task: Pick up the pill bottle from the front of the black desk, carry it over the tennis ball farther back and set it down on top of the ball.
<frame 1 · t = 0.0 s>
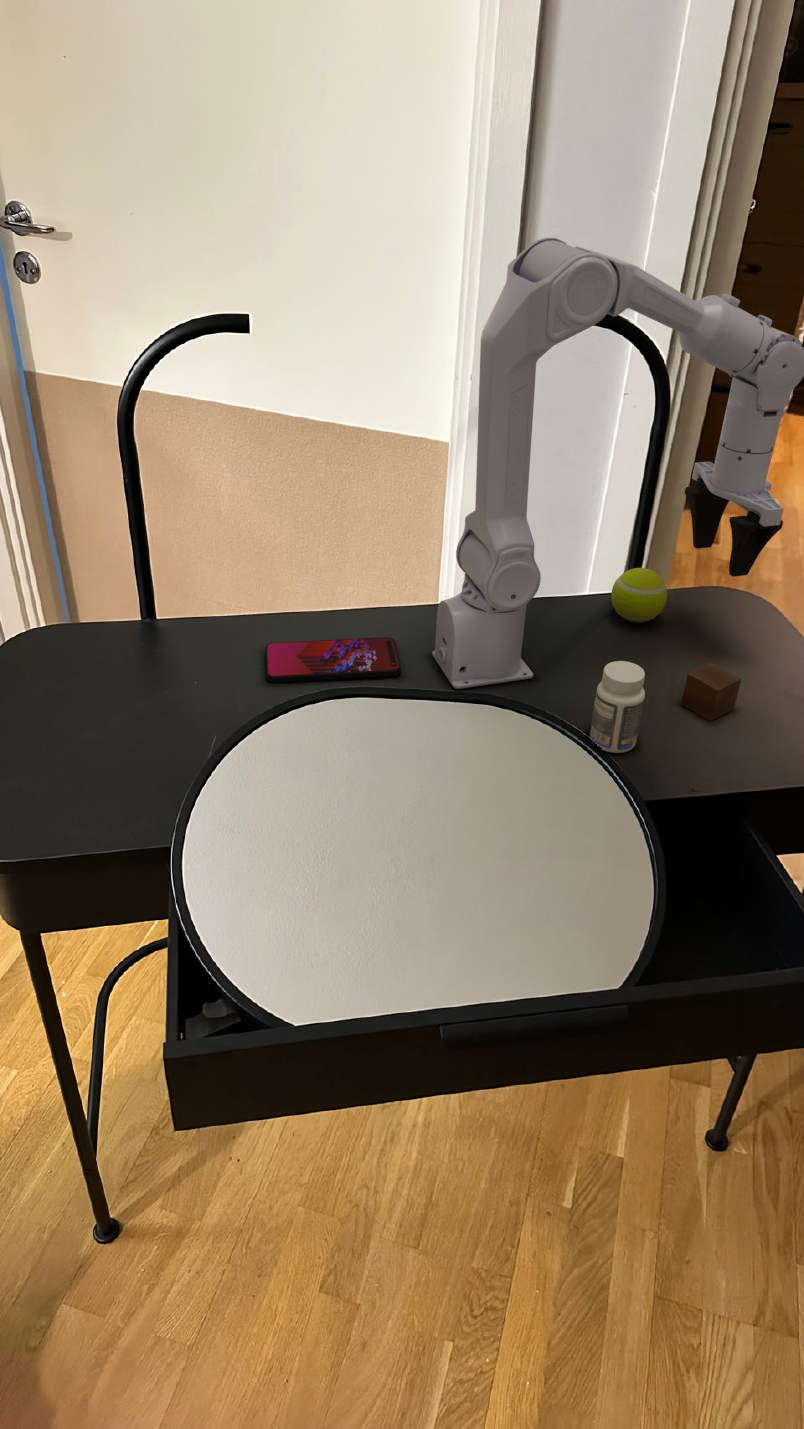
hand: (719, 560, 114), 10 cm above the table, tool pointing down, fingers open, 7 cm apart
pill bottle: (611, 742, 101), on the table
walnut block: (707, 707, 106), on the table
tennis ball: (634, 620, 123), on the table
smartphone: (332, 663, 112), on the table
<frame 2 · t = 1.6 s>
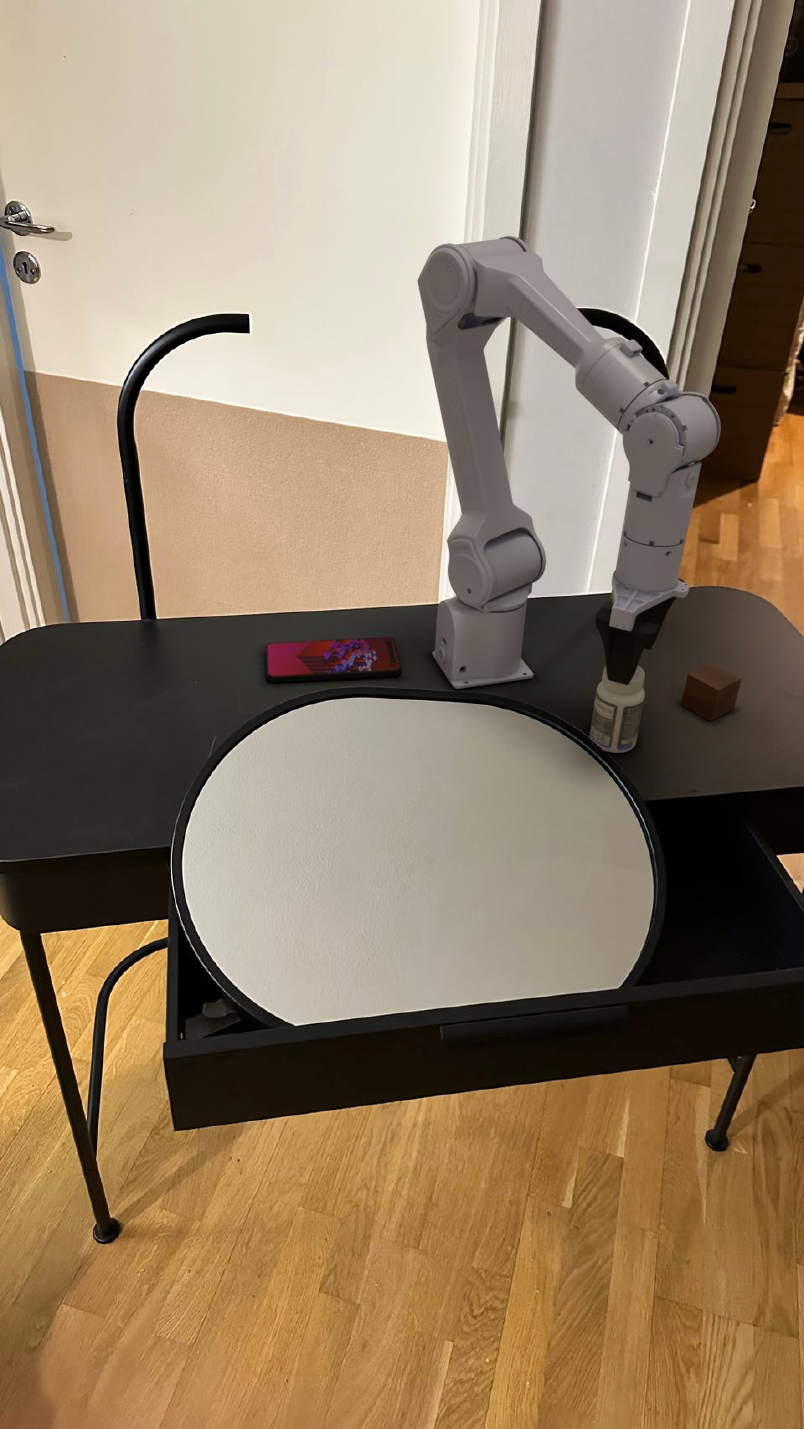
hand: (630, 663, 96), 9 cm above the table, tool pointing down, fingers open, 7 cm apart
nothing on the table moved.
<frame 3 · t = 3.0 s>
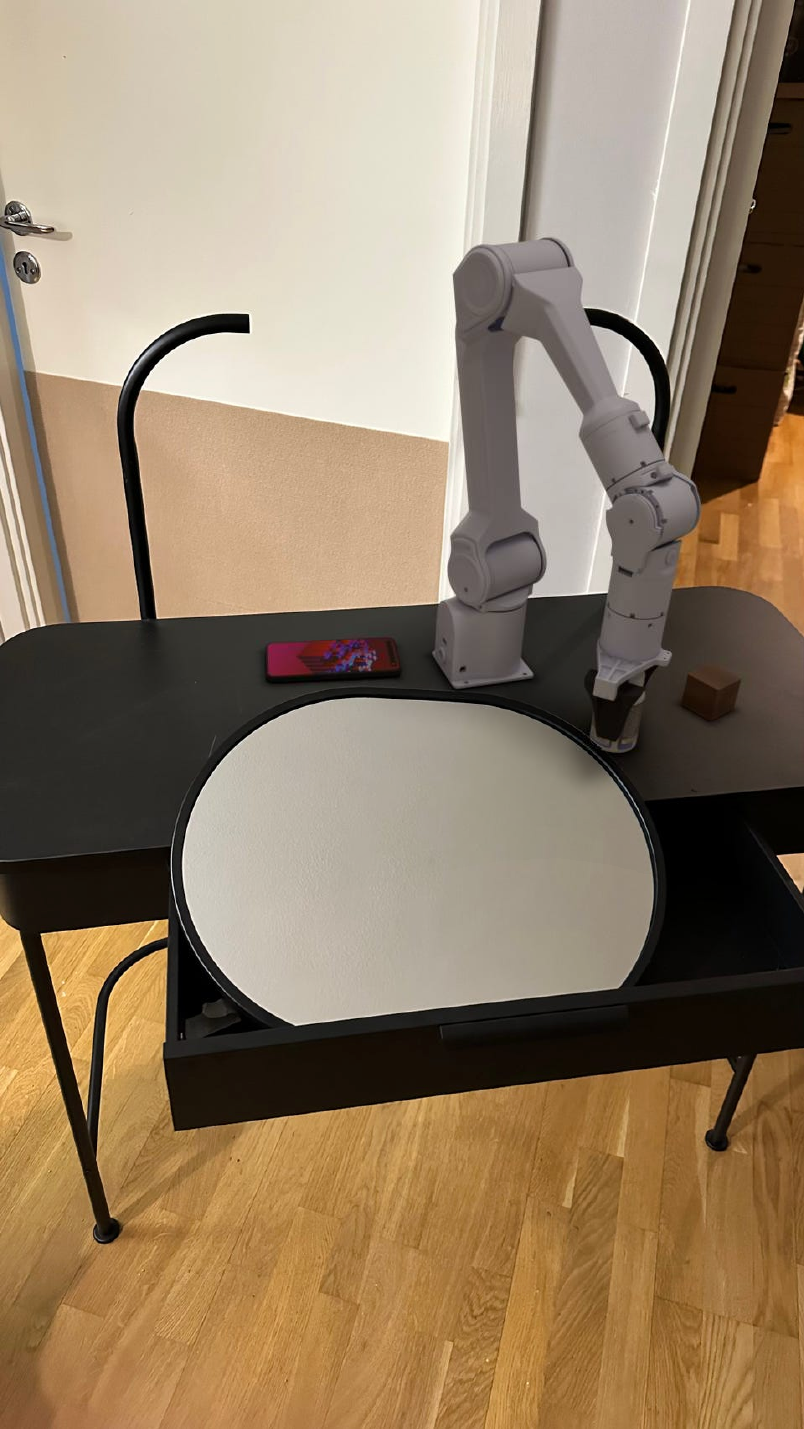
hand: (615, 724, 99), 2 cm above the table, tool pointing down, fingers closed on pill bottle, 5 cm apart
pill bottle: (611, 742, 101), on the table, touching gripper
everything else where it was.
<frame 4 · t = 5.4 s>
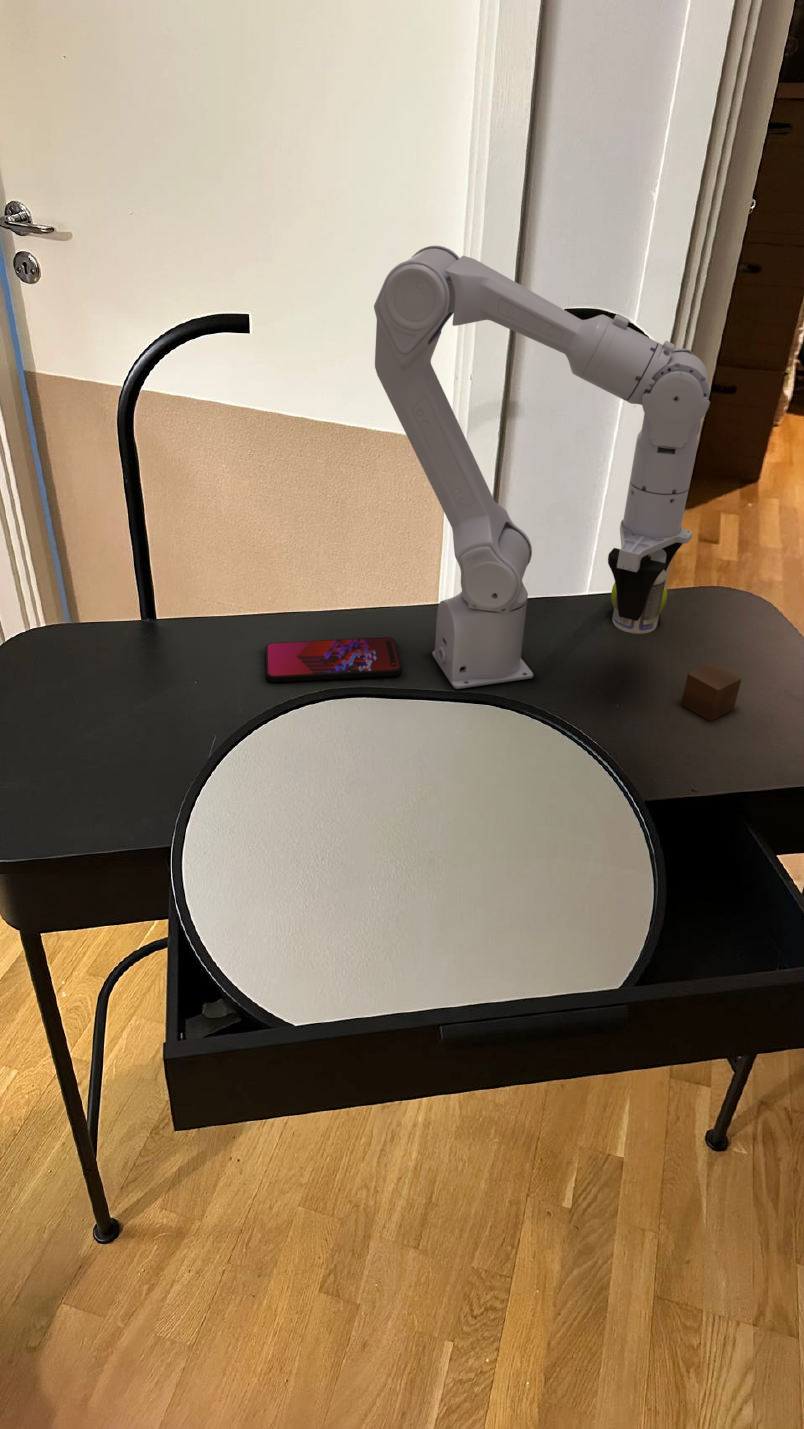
hand: (636, 607, 104), 10 cm above the table, tool pointing down, fingers closed on pill bottle, 5 cm apart
pill bottle: (633, 625, 105), point 8 cm above the table, touching gripper
everything else where it was.
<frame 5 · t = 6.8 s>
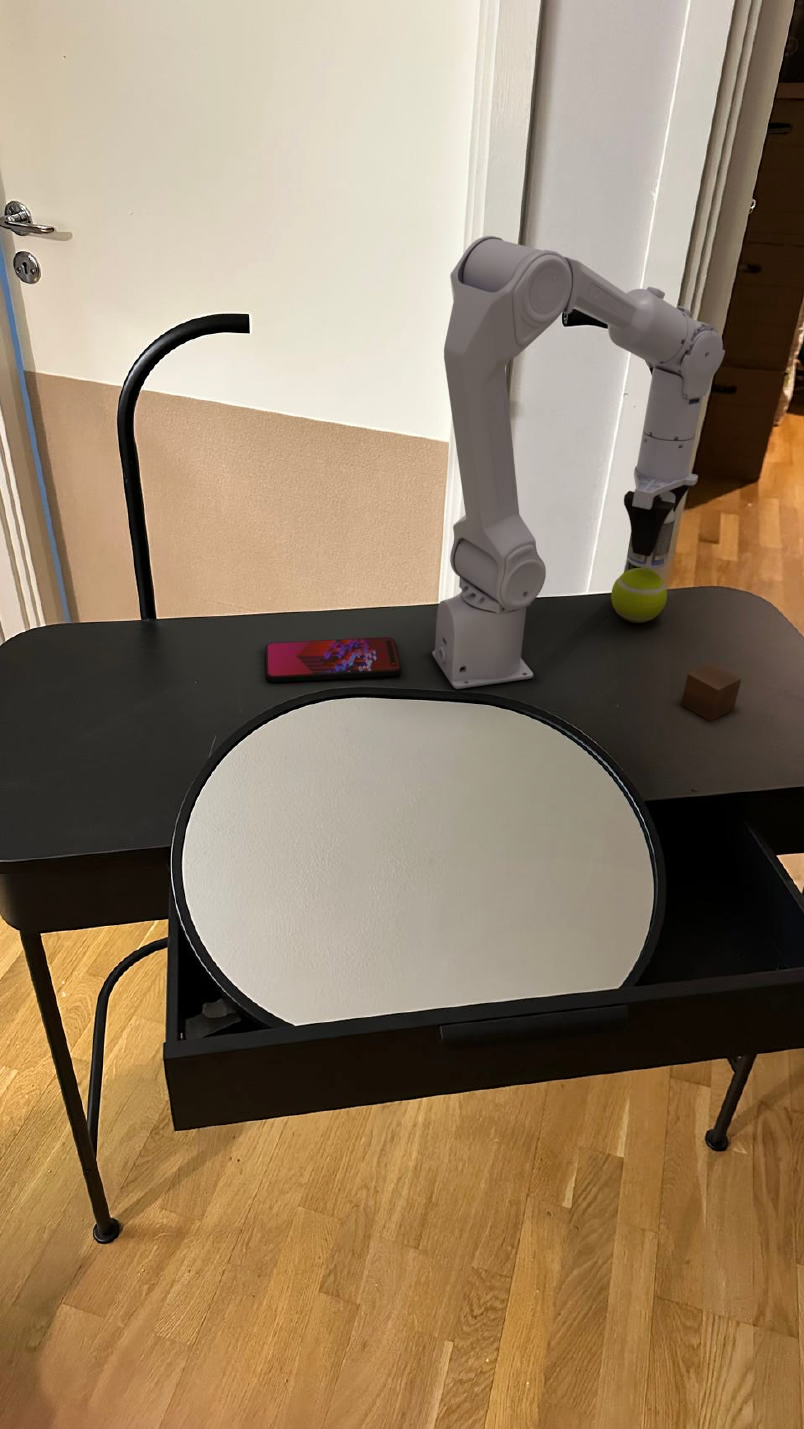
hand: (648, 545, 117), 10 cm above the table, tool pointing down, fingers closed on pill bottle, 5 cm apart
pill bottle: (646, 562, 118), point 8 cm above the table, touching gripper
everything else where it was.
when the fingers open (9 cm above the table, at t = 7.8 s): pill bottle stays where it is, resting on tennis ball.
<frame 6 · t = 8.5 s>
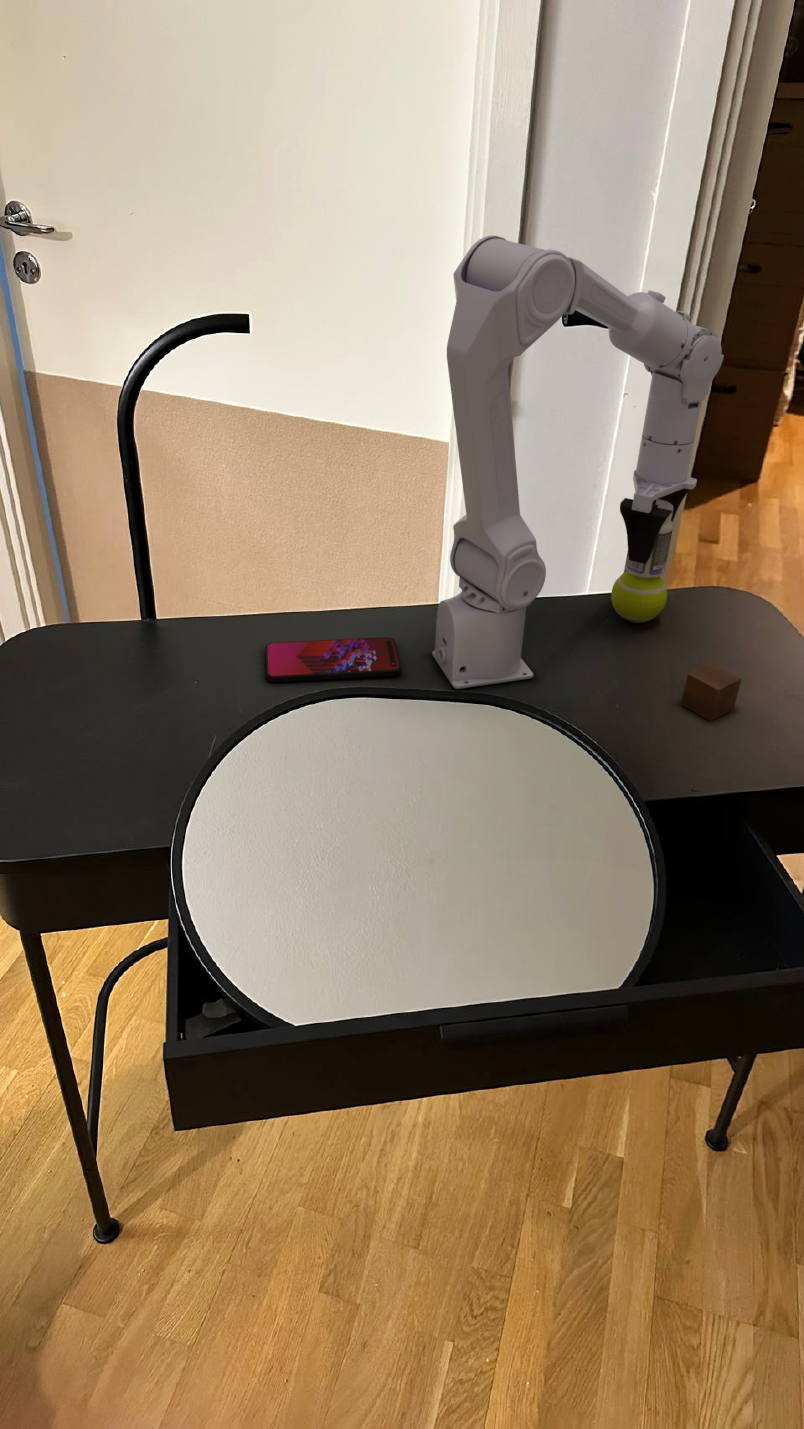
hand: (647, 549, 117), 9 cm above the table, tool pointing down, fingers open, 7 cm apart
pill bottle: (644, 572, 119), point 7 cm above the table, touching tennis ball
tennis ball: (634, 620, 123), on the table, touching pill bottle
everything else where it was.
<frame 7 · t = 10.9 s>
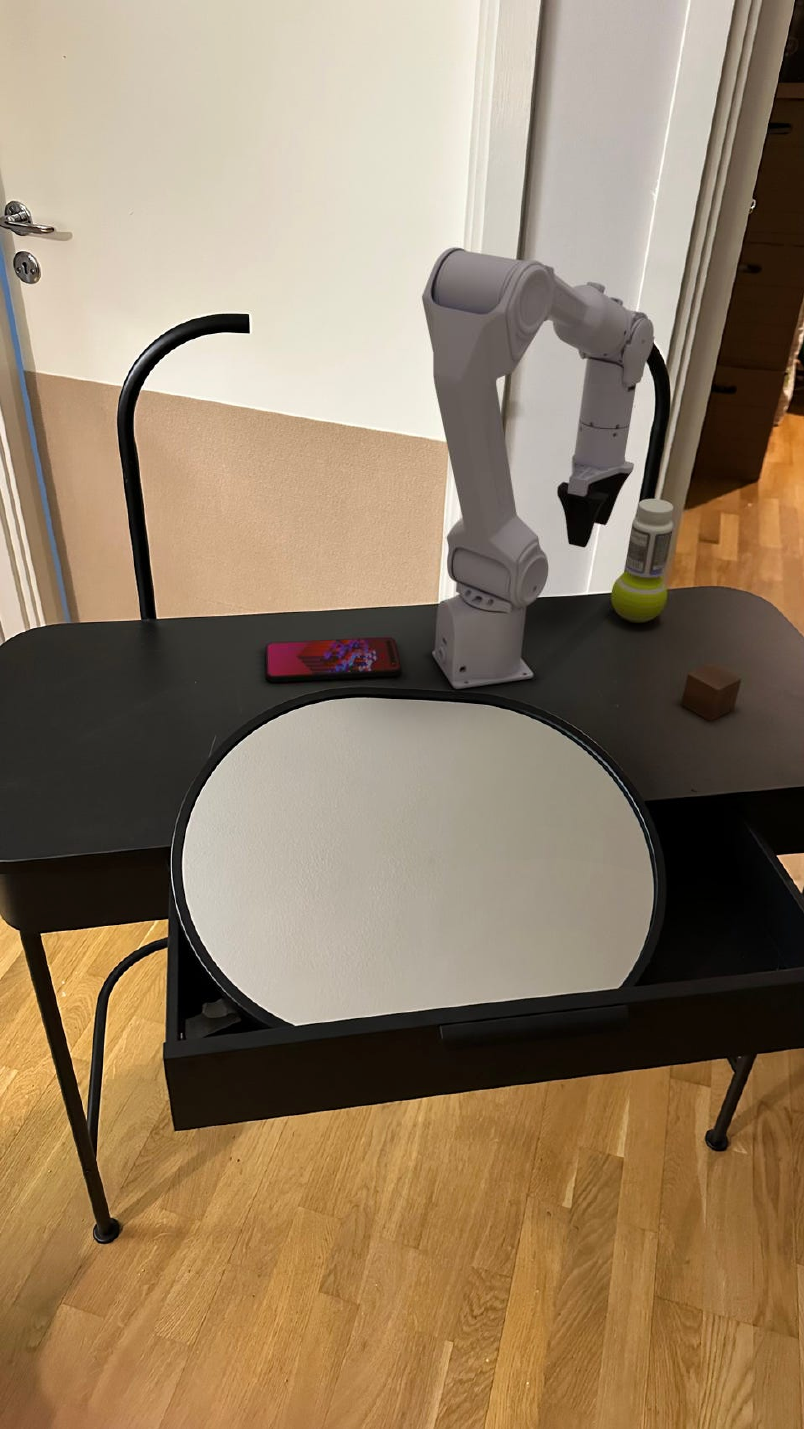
hand: (588, 533, 118), 10 cm above the table, tool pointing down, fingers open, 7 cm apart
nothing on the table moved.
at the end: pill bottle touching tennis ball; pill bottle point 6.5 cm above the table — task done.
